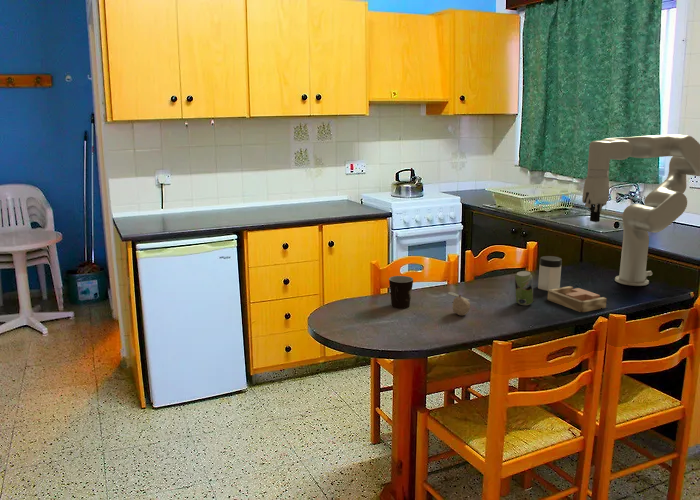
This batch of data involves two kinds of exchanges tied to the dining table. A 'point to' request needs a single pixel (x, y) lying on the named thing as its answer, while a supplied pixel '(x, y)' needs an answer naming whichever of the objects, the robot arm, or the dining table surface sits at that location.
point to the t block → (582, 294)
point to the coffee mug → (400, 291)
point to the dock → (574, 300)
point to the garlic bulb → (460, 305)
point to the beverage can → (524, 288)
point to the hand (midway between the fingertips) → (594, 221)
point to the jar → (549, 272)
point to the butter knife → (456, 295)
